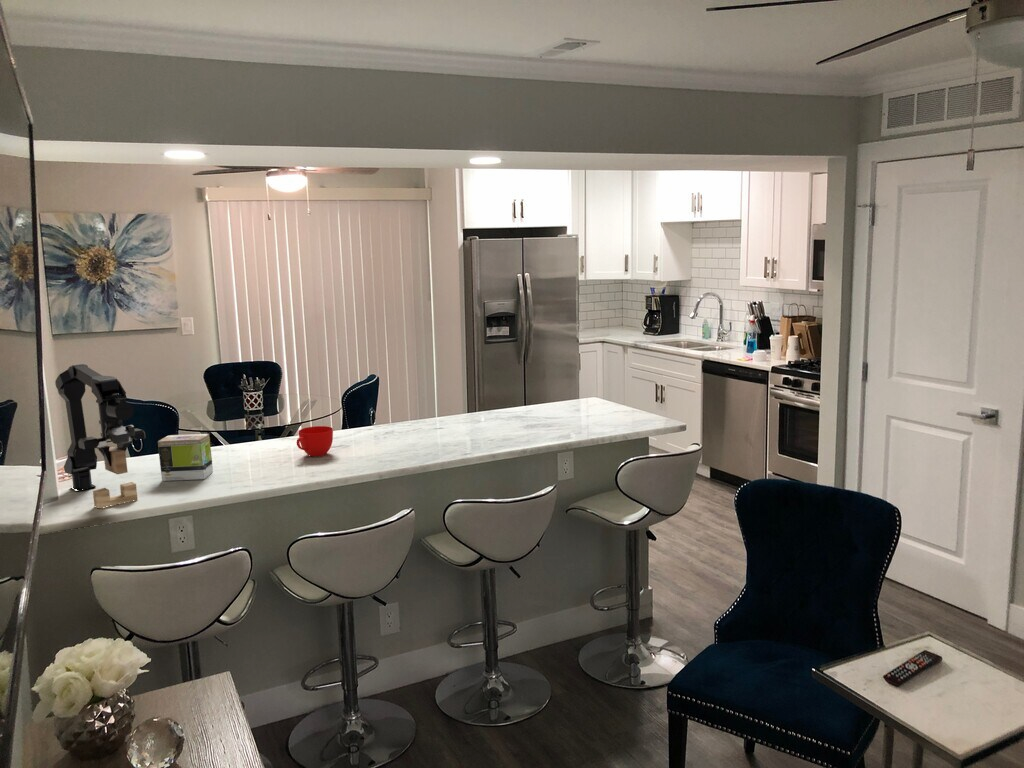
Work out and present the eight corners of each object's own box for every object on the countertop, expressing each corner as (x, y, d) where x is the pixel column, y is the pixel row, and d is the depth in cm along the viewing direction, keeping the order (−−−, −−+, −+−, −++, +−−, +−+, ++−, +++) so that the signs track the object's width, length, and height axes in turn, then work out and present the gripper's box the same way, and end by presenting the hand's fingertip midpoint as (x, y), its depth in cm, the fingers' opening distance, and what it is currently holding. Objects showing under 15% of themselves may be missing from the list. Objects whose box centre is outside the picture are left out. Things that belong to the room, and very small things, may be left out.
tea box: (213, 472, 292) (210, 432, 290) (204, 480, 282) (200, 439, 280) (171, 473, 292) (167, 434, 289) (160, 481, 282) (156, 440, 279)
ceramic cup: (285, 459, 307) (283, 434, 305) (315, 449, 322) (314, 424, 320) (311, 463, 301) (310, 437, 299) (341, 452, 316) (339, 427, 314)
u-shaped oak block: (94, 507, 255) (92, 490, 254) (133, 498, 264) (131, 481, 263) (98, 509, 253) (96, 492, 252) (137, 500, 261) (135, 483, 260)
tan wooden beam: (105, 469, 260) (102, 448, 259) (114, 467, 263) (112, 446, 262) (117, 474, 254) (115, 453, 253) (127, 472, 256) (125, 451, 255)
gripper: (88, 425, 243) (94, 475, 246) (150, 415, 257) (155, 462, 259) (74, 421, 251) (81, 469, 253) (135, 411, 264) (140, 457, 267)
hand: (115, 464), depth 258 cm, fingers closed on tan wooden beam, 3 cm apart
